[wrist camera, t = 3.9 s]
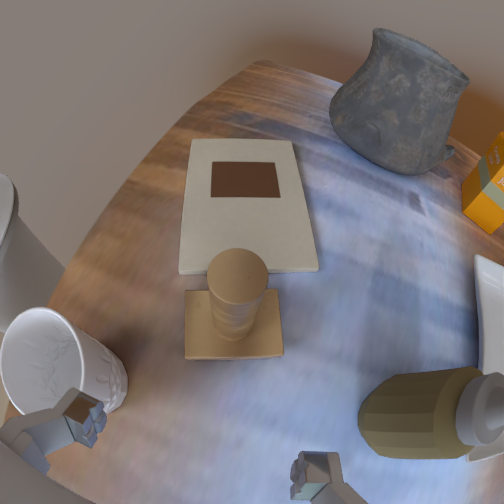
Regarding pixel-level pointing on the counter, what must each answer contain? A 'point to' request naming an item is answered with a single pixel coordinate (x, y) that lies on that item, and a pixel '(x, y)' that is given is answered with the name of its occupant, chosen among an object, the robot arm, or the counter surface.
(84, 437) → the robot arm
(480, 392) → the squeeze bottle
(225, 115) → the counter surface
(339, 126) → the vessel
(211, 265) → the scrub brush
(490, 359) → the square plate
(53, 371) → the white cup
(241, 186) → the cream rectangular board
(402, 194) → the counter surface
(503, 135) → the orange juice
